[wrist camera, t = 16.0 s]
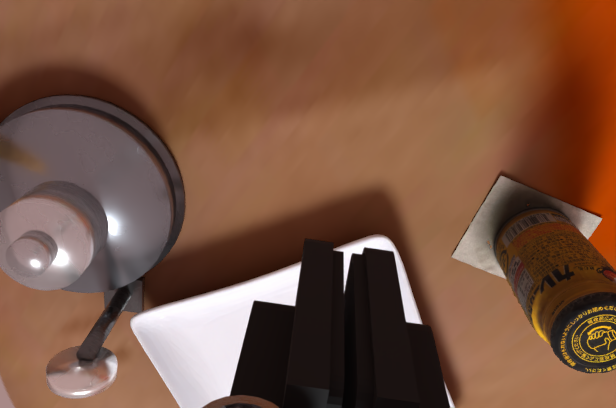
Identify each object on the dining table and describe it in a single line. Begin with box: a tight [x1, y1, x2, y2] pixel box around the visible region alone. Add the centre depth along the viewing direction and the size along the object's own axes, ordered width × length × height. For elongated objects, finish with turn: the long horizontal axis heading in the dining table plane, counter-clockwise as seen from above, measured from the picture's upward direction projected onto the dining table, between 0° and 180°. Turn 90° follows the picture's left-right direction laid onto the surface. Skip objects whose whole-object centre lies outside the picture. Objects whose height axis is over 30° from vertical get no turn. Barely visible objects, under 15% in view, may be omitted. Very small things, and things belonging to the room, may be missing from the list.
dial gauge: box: [46, 277, 145, 398], centre depth 41 cm, size 3×4×11 cm
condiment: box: [452, 176, 616, 373], centre depth 38 cm, size 7×8×12 cm
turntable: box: [0, 104, 176, 293], centre depth 39 cm, size 18×14×6 cm
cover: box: [0, 181, 109, 290], centre depth 39 cm, size 6×6×6 cm
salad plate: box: [130, 234, 455, 408], centre depth 47 cm, size 21×21×3 cm
